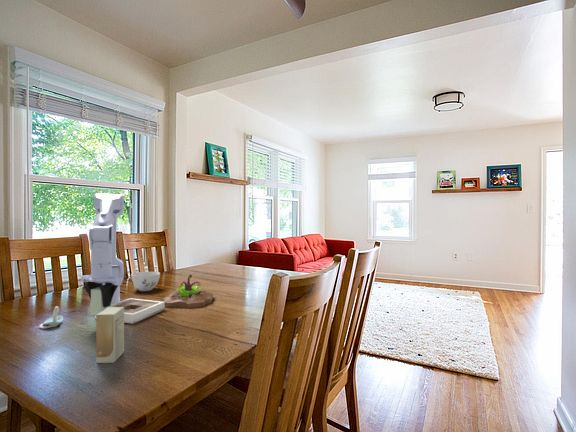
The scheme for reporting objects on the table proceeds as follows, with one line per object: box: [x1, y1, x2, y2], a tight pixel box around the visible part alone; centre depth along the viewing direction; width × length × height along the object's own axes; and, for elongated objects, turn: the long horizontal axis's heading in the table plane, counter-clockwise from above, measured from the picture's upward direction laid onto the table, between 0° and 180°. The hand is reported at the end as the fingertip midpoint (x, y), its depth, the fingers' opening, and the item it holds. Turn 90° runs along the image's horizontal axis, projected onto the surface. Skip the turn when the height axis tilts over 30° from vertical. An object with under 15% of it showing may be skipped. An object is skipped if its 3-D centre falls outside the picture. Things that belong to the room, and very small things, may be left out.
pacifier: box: [38, 305, 64, 329], centre depth 103 cm, size 7×6×6 cm
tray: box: [94, 297, 165, 324], centre depth 116 cm, size 16×16×3 cm
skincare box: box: [95, 307, 125, 364], centre depth 81 cm, size 6×4×12 cm
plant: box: [161, 274, 214, 309], centre depth 134 cm, size 20×20×11 cm
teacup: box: [130, 271, 161, 292], centre depth 153 cm, size 15×12×8 cm
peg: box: [90, 287, 111, 316], centre depth 102 cm, size 4×4×8 cm
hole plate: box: [113, 301, 156, 313], centre depth 116 cm, size 14×14×2 cm
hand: (101, 305), depth 102 cm, fingers closed on peg, 4 cm apart
